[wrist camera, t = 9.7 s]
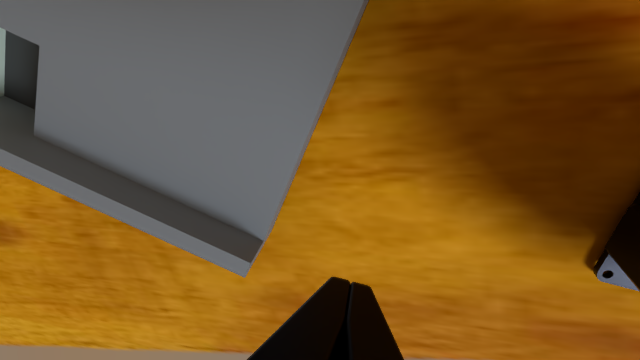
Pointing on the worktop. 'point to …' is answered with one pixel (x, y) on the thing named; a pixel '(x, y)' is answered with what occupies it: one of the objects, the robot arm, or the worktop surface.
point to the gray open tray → (171, 108)
